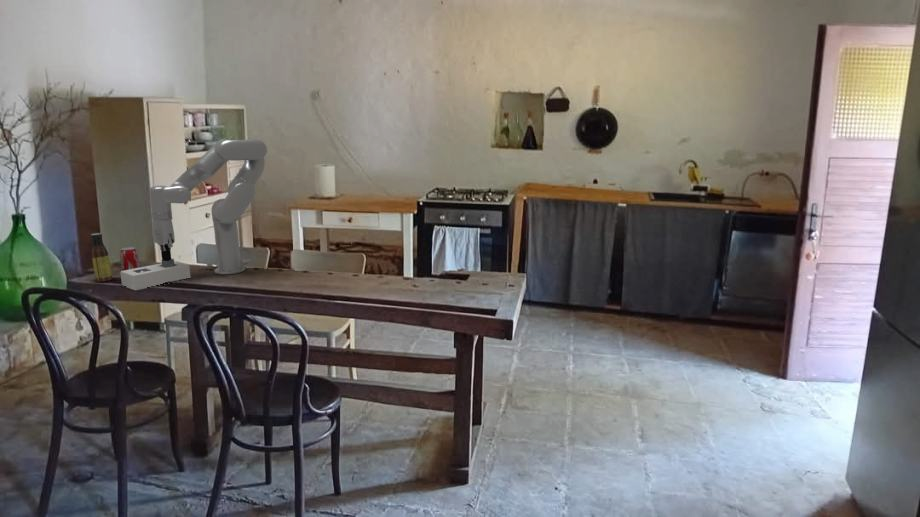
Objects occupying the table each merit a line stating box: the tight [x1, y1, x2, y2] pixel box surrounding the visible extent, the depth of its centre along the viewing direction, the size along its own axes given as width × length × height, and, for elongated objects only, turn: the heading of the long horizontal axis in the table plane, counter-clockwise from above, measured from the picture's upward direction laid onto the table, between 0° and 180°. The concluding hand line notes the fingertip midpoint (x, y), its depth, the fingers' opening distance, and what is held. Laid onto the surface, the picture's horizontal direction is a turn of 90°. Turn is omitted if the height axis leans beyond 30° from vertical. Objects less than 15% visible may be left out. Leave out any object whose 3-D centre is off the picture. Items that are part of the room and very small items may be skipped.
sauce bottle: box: [90, 232, 113, 283], centre depth 276 cm, size 6×6×20 cm
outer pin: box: [135, 269, 148, 273], centre depth 270 cm, size 5×5×6 cm
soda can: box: [119, 246, 141, 271], centre depth 285 cm, size 7×7×12 cm
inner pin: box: [161, 258, 175, 268], centre depth 277 cm, size 5×5×6 cm
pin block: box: [120, 260, 192, 292], centre depth 274 cm, size 23×12×6 cm, turn 139°
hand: (166, 259), depth 276 cm, fingers closed
